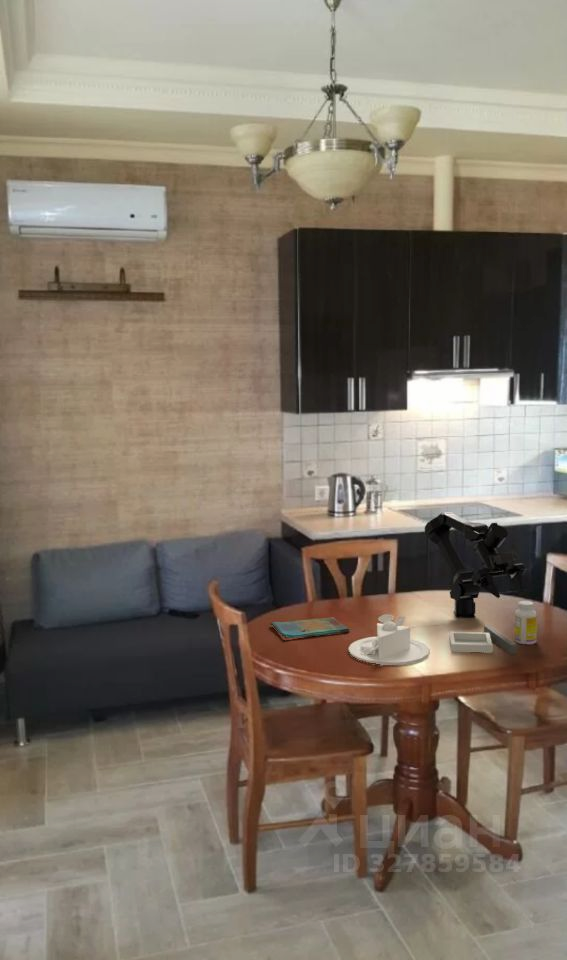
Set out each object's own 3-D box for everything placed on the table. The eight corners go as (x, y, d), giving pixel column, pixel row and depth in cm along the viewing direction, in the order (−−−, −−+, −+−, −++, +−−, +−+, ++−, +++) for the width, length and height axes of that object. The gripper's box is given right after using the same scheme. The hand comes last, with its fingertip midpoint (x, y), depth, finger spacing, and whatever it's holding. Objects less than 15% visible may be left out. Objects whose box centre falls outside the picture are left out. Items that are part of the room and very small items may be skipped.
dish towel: (269, 628, 276) (269, 621, 276) (332, 620, 283) (332, 613, 283) (283, 642, 260) (283, 635, 259) (350, 634, 266) (350, 627, 266)
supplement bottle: (538, 640, 254) (539, 601, 253) (533, 646, 249) (533, 606, 247) (517, 637, 258) (518, 598, 256) (511, 643, 252) (512, 603, 251)
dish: (364, 636, 264) (364, 603, 262) (438, 645, 253) (438, 611, 251) (336, 660, 242) (335, 624, 240) (416, 671, 231) (416, 633, 229)
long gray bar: (516, 654, 242) (516, 644, 242) (510, 654, 242) (510, 645, 241) (489, 634, 262) (489, 625, 261) (483, 634, 261) (484, 625, 261)
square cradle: (451, 651, 245) (451, 644, 245) (449, 639, 258) (449, 631, 257) (492, 653, 243) (492, 645, 243) (489, 640, 256) (489, 632, 255)
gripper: (477, 545, 258) (498, 585, 249) (523, 539, 265) (545, 579, 256) (462, 564, 266) (482, 604, 257) (508, 558, 273) (529, 597, 264)
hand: (510, 595), depth 258 cm, fingers open, 9 cm apart
